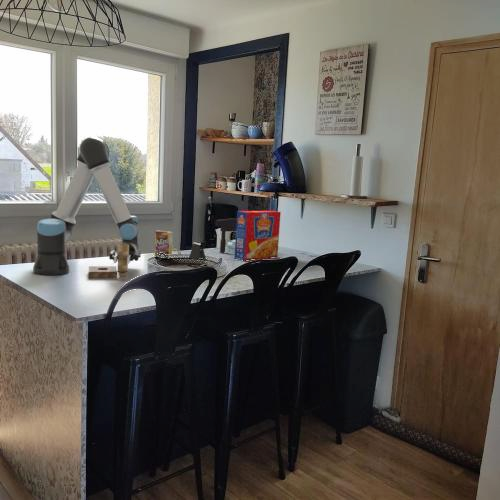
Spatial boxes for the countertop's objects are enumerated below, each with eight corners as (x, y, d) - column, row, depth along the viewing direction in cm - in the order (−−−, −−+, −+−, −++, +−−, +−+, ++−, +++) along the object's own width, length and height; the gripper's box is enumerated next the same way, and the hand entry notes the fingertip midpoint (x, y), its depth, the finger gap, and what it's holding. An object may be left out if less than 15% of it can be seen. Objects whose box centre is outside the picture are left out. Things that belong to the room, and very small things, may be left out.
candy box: (154, 258, 270) (154, 230, 268) (157, 256, 274) (158, 230, 272) (168, 259, 267) (169, 232, 265) (172, 258, 271) (173, 231, 269)
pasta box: (243, 261, 276) (246, 212, 272) (234, 259, 282) (237, 211, 277) (277, 258, 296) (280, 212, 291) (267, 255, 301) (270, 210, 297)
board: (88, 278, 213) (88, 271, 212) (88, 272, 224) (88, 266, 223) (117, 278, 216) (117, 271, 216) (115, 272, 228) (115, 266, 227)
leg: (116, 279, 210) (117, 245, 208) (116, 276, 215) (117, 243, 212) (128, 279, 212) (129, 245, 209) (127, 276, 216) (128, 243, 214)
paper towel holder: (207, 217, 302) (247, 216, 324) (206, 251, 305) (245, 248, 327) (223, 220, 290) (263, 219, 312) (222, 255, 293) (261, 251, 316)
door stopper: (193, 267, 251) (195, 244, 249) (186, 265, 255) (187, 242, 254) (207, 265, 258) (208, 243, 256) (199, 263, 262) (201, 241, 260)
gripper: (146, 259, 231) (142, 270, 208) (107, 258, 229) (99, 268, 206) (147, 244, 230) (143, 252, 207) (108, 242, 227) (100, 250, 205)
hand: (121, 260), depth 207 cm, fingers closed on leg, 5 cm apart
